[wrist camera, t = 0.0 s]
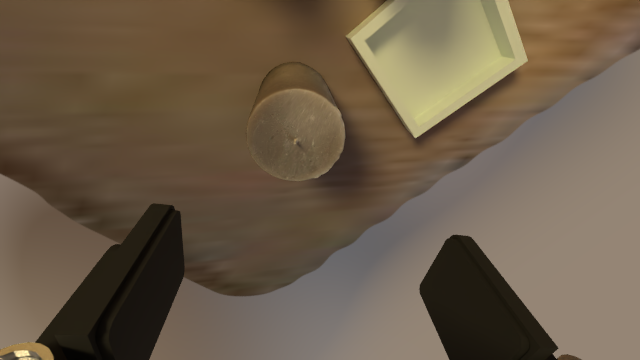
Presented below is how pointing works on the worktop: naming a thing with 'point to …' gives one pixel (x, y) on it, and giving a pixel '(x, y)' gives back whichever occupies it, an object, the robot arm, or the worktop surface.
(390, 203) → the worktop surface
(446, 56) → the tray
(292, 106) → the pillar candle
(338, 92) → the worktop surface
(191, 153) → the worktop surface
